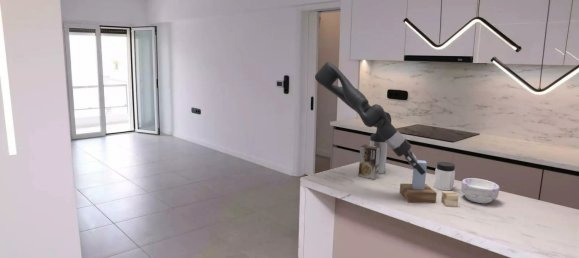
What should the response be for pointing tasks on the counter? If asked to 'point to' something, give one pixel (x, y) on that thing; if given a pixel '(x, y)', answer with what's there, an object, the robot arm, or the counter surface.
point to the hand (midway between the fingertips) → (422, 170)
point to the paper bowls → (479, 190)
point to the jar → (444, 176)
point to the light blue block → (419, 176)
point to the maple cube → (449, 198)
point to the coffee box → (369, 161)
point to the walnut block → (418, 194)
